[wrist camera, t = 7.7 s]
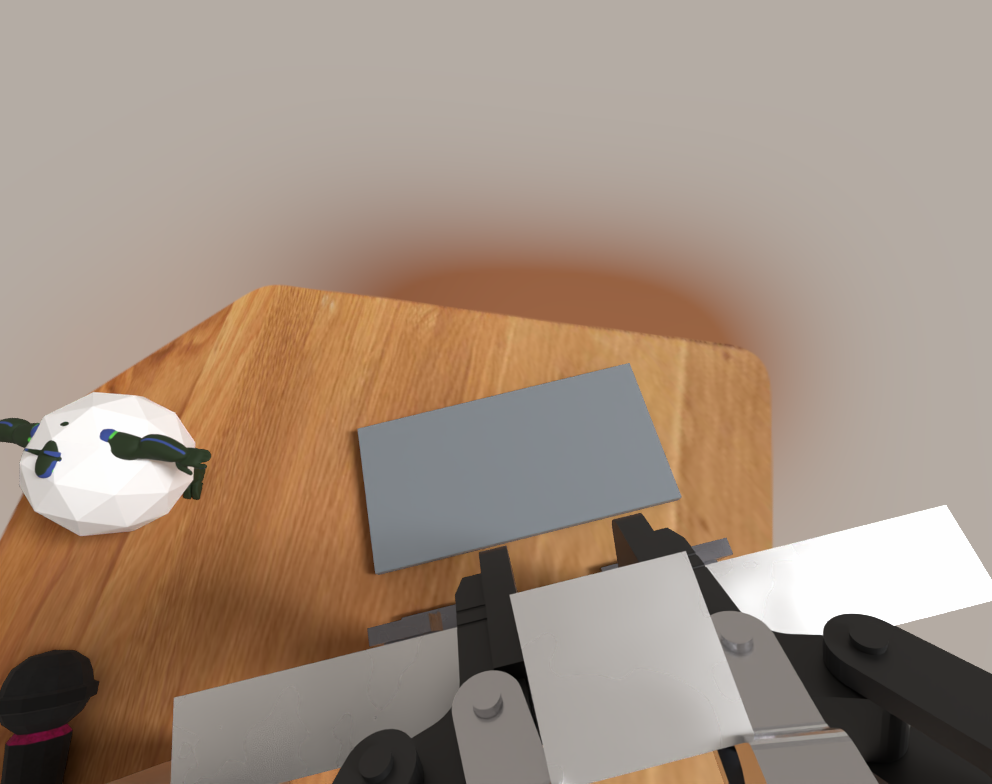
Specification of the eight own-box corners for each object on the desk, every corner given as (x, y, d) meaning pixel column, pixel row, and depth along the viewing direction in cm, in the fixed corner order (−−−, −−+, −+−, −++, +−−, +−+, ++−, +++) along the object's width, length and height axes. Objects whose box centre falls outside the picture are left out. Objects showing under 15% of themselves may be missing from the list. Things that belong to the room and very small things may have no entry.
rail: (224, 784, 15) (-188, 986, 6) (224, 688, 16) (-129, 752, 8) (935, 602, 16) (1412, 567, 7) (890, 522, 17) (1259, 408, 8)
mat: (378, 574, 40) (375, 573, 39) (361, 432, 45) (357, 428, 44) (678, 500, 40) (681, 497, 40) (627, 368, 46) (629, 363, 45)
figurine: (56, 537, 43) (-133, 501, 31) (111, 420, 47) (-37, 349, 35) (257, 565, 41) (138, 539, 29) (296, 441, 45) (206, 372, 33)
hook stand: (419, 726, 35) (349, 784, 22) (404, 618, 38) (334, 613, 25) (713, 650, 36) (814, 663, 23) (676, 549, 39) (746, 509, 26)
